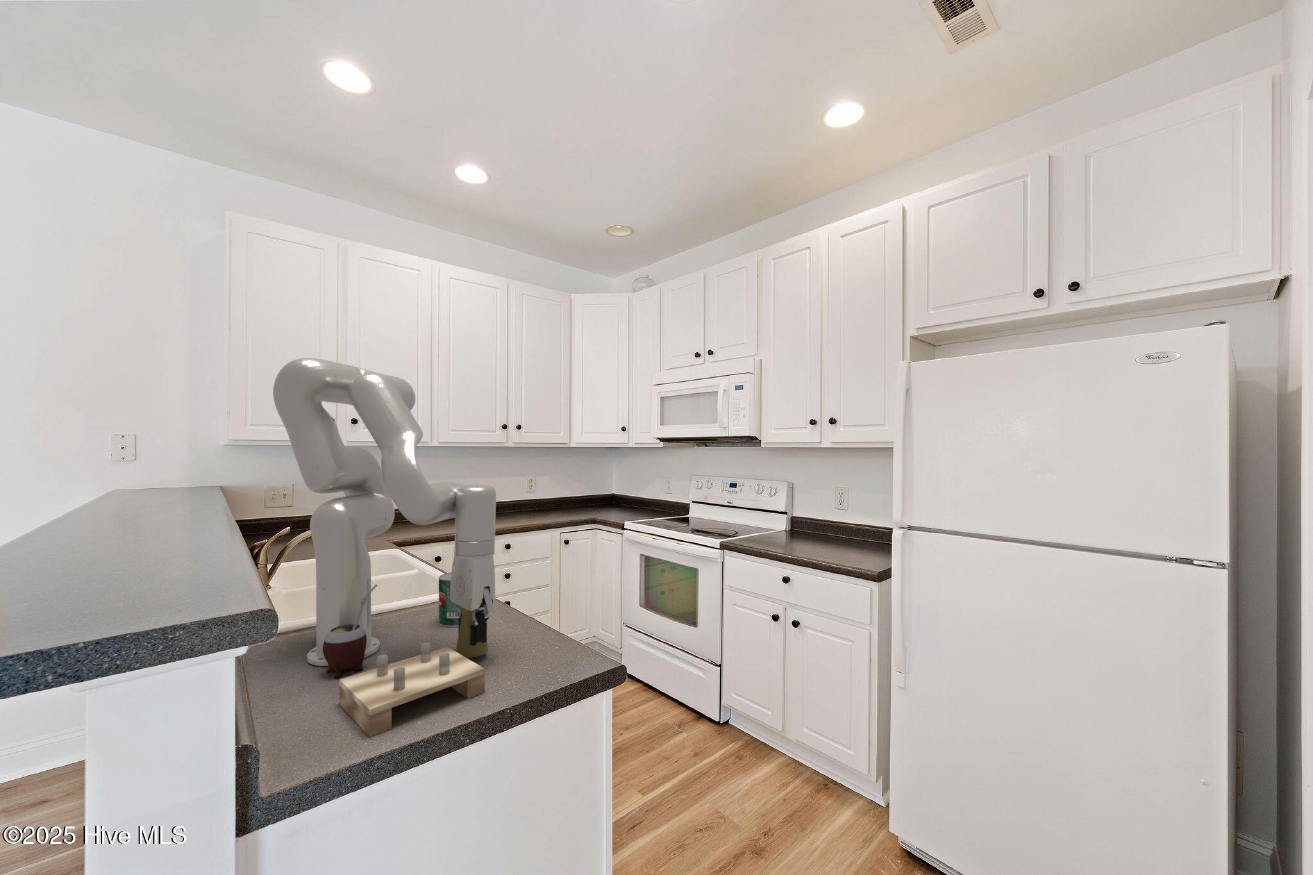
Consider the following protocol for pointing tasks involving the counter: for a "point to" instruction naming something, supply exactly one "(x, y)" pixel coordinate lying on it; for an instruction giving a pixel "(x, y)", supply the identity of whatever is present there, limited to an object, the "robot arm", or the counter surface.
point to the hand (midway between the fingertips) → (472, 639)
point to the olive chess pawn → (464, 637)
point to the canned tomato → (447, 603)
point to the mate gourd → (346, 646)
